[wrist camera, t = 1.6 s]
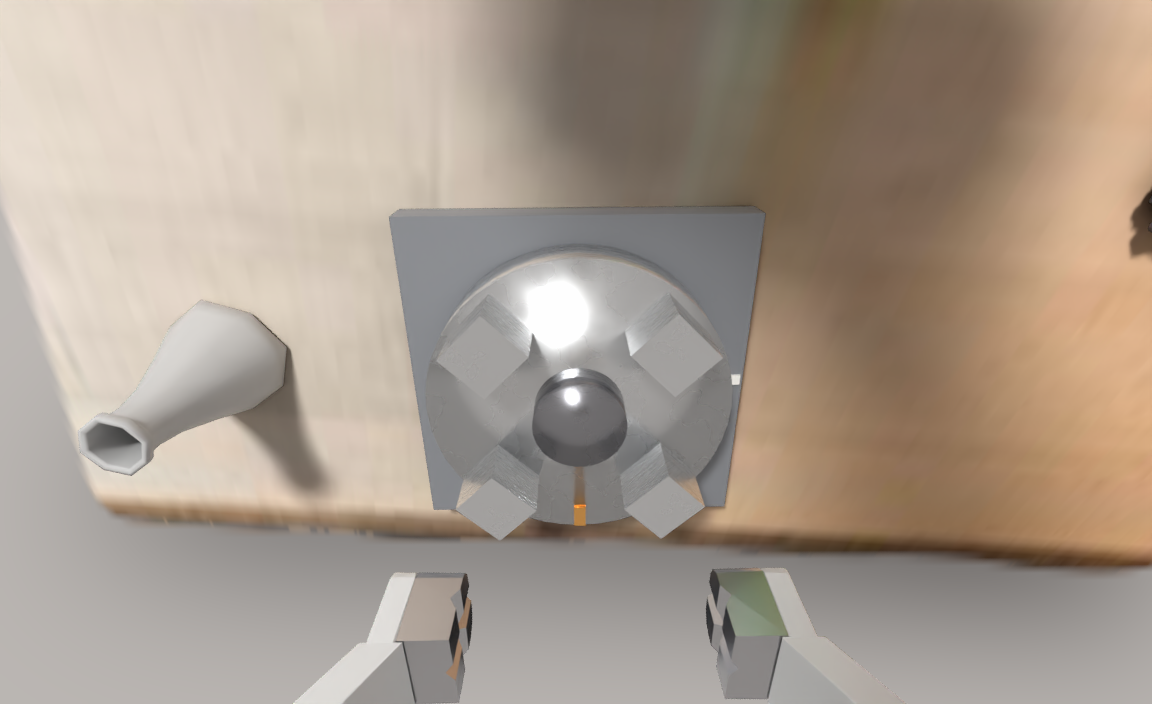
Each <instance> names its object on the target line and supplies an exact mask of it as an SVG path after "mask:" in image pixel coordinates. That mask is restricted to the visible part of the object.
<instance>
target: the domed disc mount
mask: <svg viewBox="0 0 1152 704" xmlns="http://www.w3.org/2000/svg"><path fill="white" fill-rule="evenodd" d="M732 390H733V389H732V378H731V370H730V366H729V362H728V358H727V354H726V352H725V350H724V347H723V345H722V343H721V340H720V338H719V336H718V334H717V333H716V331H715V329H714V328H713V326H712V324H711V323H710V321H709V319H708V317H707V316H706V314H705V313H704V311H703V309H702V308H701V306H700V304H699V303H698V301H697V300H696V299H695V298H694V296H693V295H692V294H691V293H690V292H689V290H688V289H687V288H686V287H685V286H684V285H683V284H682V283H681V282H679V281H678V280H677V279H676V278H675V277H674V276H673V275H672V274H670V273H669V272H667V271H666V270H664V269H663V268H661V267H660V266H658V265H657V264H655V263H653V262H651V261H649V260H647V259H645V258H643V257H641V256H638V255H636V254H633V253H630V252H627V251H624V250H621V249H617V248H612V247H606V246H601V245H589V244H569V245H557V246H552V247H547V248H542V249H537V250H534V251H531V252H529V253H526V254H523V255H520V256H517V257H515V258H513V259H511V260H509V261H507V262H505V263H503V264H501V265H500V266H498V267H497V268H495V269H494V270H492V271H491V272H490V273H488V274H487V275H485V276H484V277H483V278H482V279H481V280H479V281H478V282H477V283H476V284H475V285H474V286H473V287H472V288H471V289H470V290H469V291H468V292H467V294H466V295H465V296H464V297H463V298H462V300H461V301H460V302H459V303H458V305H457V307H456V308H455V310H454V312H453V313H452V315H451V317H450V318H449V320H448V322H447V324H446V326H445V328H444V330H443V332H442V334H441V336H440V338H439V339H438V342H437V344H436V347H435V349H434V351H433V354H432V356H431V360H430V364H429V368H428V372H427V379H426V390H425V395H426V409H427V414H428V419H429V423H430V427H431V430H432V432H433V435H434V438H435V440H436V443H437V444H438V446H439V448H440V450H441V452H442V454H443V455H444V457H445V459H446V460H447V461H448V463H449V464H450V465H451V467H452V468H453V469H454V471H455V472H456V473H457V474H458V475H459V476H460V477H461V478H462V479H463V484H462V488H461V491H460V495H459V499H458V502H457V506H456V511H458V512H459V513H461V514H462V515H464V516H465V517H467V518H468V519H469V520H471V521H472V522H474V523H475V524H477V525H478V526H480V527H481V528H482V529H484V530H485V531H487V532H488V533H490V534H491V535H493V536H494V537H495V538H497V539H498V540H501V539H503V538H504V537H505V536H506V535H507V534H509V533H510V532H511V531H512V530H514V529H515V528H516V527H517V526H518V525H520V524H521V523H522V522H523V521H525V520H526V519H527V518H532V519H536V520H540V521H544V522H551V523H559V524H574V526H586V524H598V523H604V522H610V521H616V520H620V519H623V518H627V517H631V516H633V517H634V518H635V519H637V520H638V521H639V522H641V523H642V524H643V525H644V526H646V527H647V528H648V529H649V530H651V531H652V532H653V533H654V534H656V535H657V536H658V537H660V538H663V537H664V536H665V535H667V534H668V533H670V532H671V531H672V530H674V529H675V528H677V527H678V526H679V525H681V524H682V523H683V522H685V521H686V520H688V519H689V518H690V517H692V516H693V515H695V514H696V513H697V512H699V511H700V510H701V509H703V508H704V507H705V505H704V502H703V499H702V496H701V493H700V490H699V486H698V483H697V480H696V476H697V475H698V474H699V473H700V472H701V471H702V470H703V469H704V468H705V466H706V465H707V463H708V462H709V461H710V459H711V458H712V456H713V455H714V453H715V452H716V450H717V448H718V446H719V444H720V442H721V440H722V438H723V435H724V433H725V430H726V427H727V425H728V421H729V416H730V411H731V407H732Z"/></svg>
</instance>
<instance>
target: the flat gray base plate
mask: <svg viewBox="0 0 1152 704" xmlns="http://www.w3.org/2000/svg"><path fill="white" fill-rule="evenodd" d="M765 214H766V213H764V212H763V211H761V210H760V209H758V208H757V207H755V206H699V207H587V208H475V209H399V210H398V211H396V212H395V213H393V214H392V215H391V216H389V221H390V228H391V234H392V241H393V247H394V254H395V260H396V267H397V273H398V280H399V286H400V293H401V299H402V306H403V312H404V319H405V325H406V332H407V338H408V345H409V351H410V358H411V364H412V371H413V377H414V384H415V390H416V397H417V403H418V410H419V416H420V423H421V429H422V436H423V442H424V449H425V455H426V462H427V468H428V475H429V481H430V488H431V494H432V501H433V507H434V510H452V509H456V506H457V502H458V499H459V495H460V491H461V488H462V484H463V479H462V478H461V477H460V476H459V475H458V474H457V473H456V472H455V471H454V469H453V468H452V467H451V465H450V464H449V463H448V461H447V460H446V459H445V457H444V455H443V454H442V452H441V450H440V448H439V446H438V444H437V443H436V440H435V438H434V435H433V432H432V430H431V427H430V423H429V419H428V414H427V409H426V395H425V390H426V379H427V372H428V368H429V364H430V360H431V356H432V354H433V351H434V349H435V347H436V344H437V342H438V339H439V338H440V336H441V334H442V332H443V330H444V328H445V326H446V324H447V322H448V320H449V318H450V317H451V315H452V313H453V312H454V310H455V308H456V307H457V305H458V303H459V302H460V301H461V300H462V298H463V297H464V296H465V295H466V294H467V292H468V291H469V290H470V289H471V288H472V287H473V286H474V285H475V284H476V283H477V282H478V281H479V280H481V279H482V278H483V277H484V276H485V275H487V274H488V273H490V272H491V271H492V270H494V269H495V268H497V267H498V266H500V265H501V264H503V263H505V262H507V261H509V260H511V259H513V258H515V257H517V256H520V255H523V254H526V253H529V252H531V251H534V250H537V249H542V248H547V247H552V246H557V245H569V244H589V245H601V246H606V247H612V248H617V249H621V250H624V251H627V252H630V253H633V254H636V255H638V256H641V257H643V258H645V259H647V260H649V261H651V262H653V263H655V264H657V265H658V266H660V267H661V268H663V269H664V270H666V271H667V272H669V273H670V274H672V275H673V276H674V277H675V278H676V279H677V280H678V281H679V282H681V283H682V284H683V285H684V286H685V287H686V288H687V289H688V290H689V292H690V293H691V294H692V295H693V296H694V298H695V299H696V300H697V301H698V303H699V304H700V306H701V308H702V309H703V311H704V313H705V314H706V316H707V317H708V319H709V321H710V323H711V324H712V326H713V328H714V329H715V331H716V333H717V334H718V336H719V338H720V340H721V343H722V345H723V347H724V350H725V352H726V354H727V358H728V362H729V366H730V370H731V378H732V389H733V390H732V407H731V411H730V416H729V421H728V425H727V427H726V430H725V433H724V435H723V438H722V440H721V442H720V444H719V446H718V448H717V450H716V452H715V453H714V455H713V456H712V458H711V459H710V461H709V462H708V463H707V465H706V466H705V468H704V469H703V470H702V471H701V472H700V473H699V474H698V475H697V476H696V480H697V483H698V486H699V490H700V493H701V496H702V499H703V502H704V505H705V507H707V506H724V504H725V497H726V490H727V483H728V476H729V469H730V462H731V455H732V448H733V441H734V433H735V426H736V419H737V412H738V405H739V398H740V391H741V384H742V377H743V370H744V363H745V356H746V349H747V341H748V334H749V327H750V320H751V313H752V306H753V299H754V292H755V285H756V278H757V271H758V264H759V256H760V249H761V242H762V235H763V228H764V221H765Z"/></svg>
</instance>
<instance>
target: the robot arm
mask: <svg viewBox="0 0 1152 704" xmlns="http://www.w3.org/2000/svg"><path fill="white" fill-rule="evenodd" d="M709 583H710V587H711V591H712V593H711V594H710V595H709V596H708V597H707V605H706V619H707V620H706V621H707V628H708V634H709V639H710V643H711V646H712V647H713V648H714V649H715V650H716V651H717V652H718V659H717V665H716V667H717V670H718V674H719V678H720V682H721V686H722V690H723V694H724V697H725V698H726V699H768V702H769V703H770V704H906V703H905V702H904V701H903V700H901V699H900V698H899V697H898V696H897V695H895V694H894V693H893V692H892V691H891V690H889V689H888V688H887V687H886V686H884V685H883V684H882V683H881V682H880V681H878V680H877V679H876V678H875V677H873V676H872V675H871V674H870V673H869V672H867V671H866V670H865V669H864V668H863V667H861V666H860V665H859V664H858V663H857V662H855V661H854V660H853V659H852V658H850V657H849V656H848V655H847V654H846V653H845V652H843V651H842V650H841V649H840V648H838V647H837V646H836V645H835V644H833V643H832V642H831V641H830V640H829V639H827V638H826V637H825V636H817V634H816V632H815V629H814V627H813V625H812V623H811V620H810V619H809V616H808V614H807V612H806V610H805V608H804V605H803V603H802V601H801V599H800V597H799V594H798V592H797V590H796V588H795V586H794V583H793V581H792V579H791V577H790V575H789V573H788V571H787V570H786V569H785V568H760V569H759V568H739V569H737V568H735V569H712V572H711V573H710V580H709ZM468 588H469V582H468V576H467V574H466V573H394V574H393V576H392V577H391V578H390V580H389V583H388V585H387V588H386V591H385V593H384V596H383V599H382V602H381V604H380V607H379V610H378V613H377V615H376V618H375V621H374V623H373V626H372V629H371V631H370V634H369V637H368V639H367V642H366V643H358V644H357V645H356V646H355V647H354V648H353V649H352V650H351V651H350V652H349V653H347V654H346V655H345V656H344V657H343V658H342V659H341V660H340V661H339V662H338V663H337V664H335V665H334V666H333V667H332V668H331V669H330V670H329V671H328V672H327V673H326V674H325V675H323V676H322V677H321V678H320V679H319V680H318V681H317V682H316V683H315V684H314V685H313V686H311V687H310V688H309V689H308V690H307V691H306V692H305V693H304V694H303V695H302V696H301V697H299V698H298V699H297V700H296V701H295V702H294V703H293V704H434V703H457V702H459V699H460V694H461V689H462V683H463V678H464V673H465V666H464V659H463V655H464V654H465V653H466V651H467V650H468V649H469V645H470V639H471V630H472V604H471V600H470V599H469V598H468V597H467V594H468Z"/></svg>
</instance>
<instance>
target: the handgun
mask: <svg viewBox="0 0 1152 704" xmlns="http://www.w3.org/2000/svg"><path fill="white" fill-rule="evenodd" d="M1149 203H1152V196H1151V198H1150V200H1149ZM1148 231H1150V232H1152V222H1151V223H1150V225H1149V227H1148Z"/></svg>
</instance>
